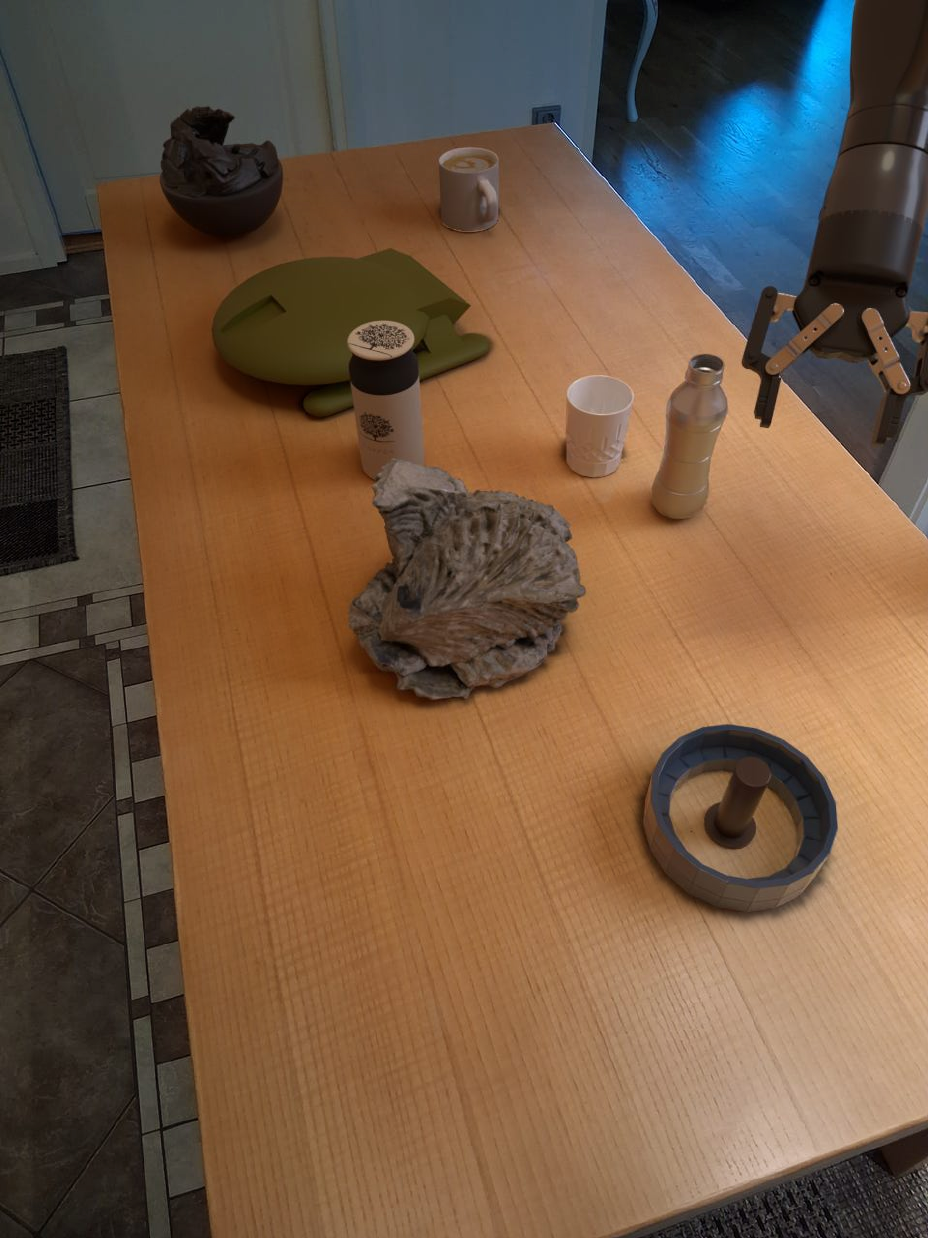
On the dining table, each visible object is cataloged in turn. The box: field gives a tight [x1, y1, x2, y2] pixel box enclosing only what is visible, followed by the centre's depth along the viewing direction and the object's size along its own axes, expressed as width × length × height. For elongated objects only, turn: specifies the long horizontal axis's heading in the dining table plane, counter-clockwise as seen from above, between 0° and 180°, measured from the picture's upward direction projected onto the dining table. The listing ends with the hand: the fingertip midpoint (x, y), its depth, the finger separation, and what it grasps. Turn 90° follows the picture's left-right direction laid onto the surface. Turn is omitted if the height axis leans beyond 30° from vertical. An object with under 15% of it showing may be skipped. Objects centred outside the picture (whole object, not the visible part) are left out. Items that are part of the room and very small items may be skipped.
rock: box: [348, 458, 587, 701], centre depth 91 cm, size 24×17×25 cm
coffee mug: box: [438, 146, 500, 231], centre depth 151 cm, size 13×10×10 cm
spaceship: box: [210, 247, 491, 418], centre depth 127 cm, size 35×31×10 cm
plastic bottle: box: [650, 353, 729, 520], centre depth 99 cm, size 6×7×20 cm
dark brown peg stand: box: [703, 757, 771, 850], centre depth 75 cm, size 4×4×10 cm
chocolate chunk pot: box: [159, 105, 284, 239], centre depth 147 cm, size 20×20×19 cm
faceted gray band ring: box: [642, 723, 839, 913], centre depth 77 cm, size 15×15×6 cm
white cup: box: [565, 374, 635, 478], centre depth 109 cm, size 8×8×10 cm
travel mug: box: [347, 321, 426, 480], centre depth 107 cm, size 8×8×18 cm
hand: (820, 435), depth 70 cm, fingers open, 8 cm apart
